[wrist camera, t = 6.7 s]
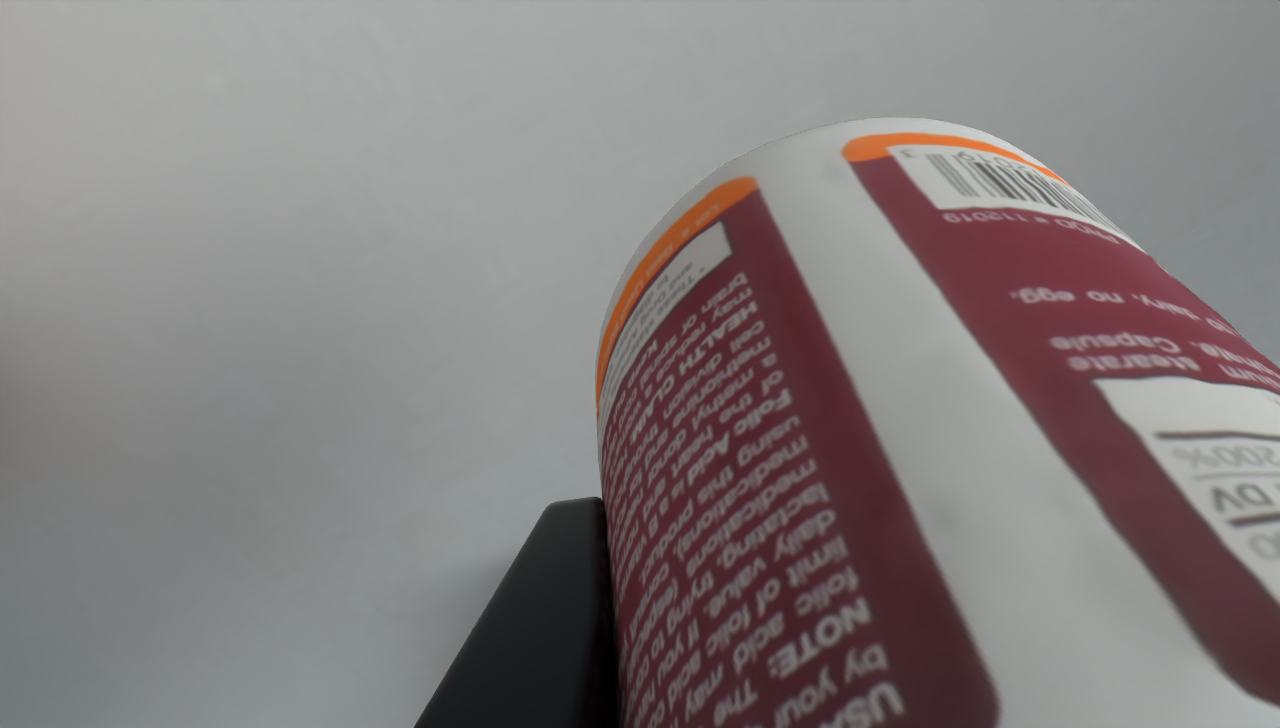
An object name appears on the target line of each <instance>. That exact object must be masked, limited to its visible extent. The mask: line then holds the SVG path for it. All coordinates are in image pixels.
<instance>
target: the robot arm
mask: <svg viewBox="0 0 1280 728" xmlns="http://www.w3.org/2000/svg"><path fill="white" fill-rule="evenodd" d="M414 728H618V725H617V711H616V693H615V664H614V650H613V635H612V611H611V602H610V582H609V569H608V557H607V532H606V520H605V507H604V502H603V501H602V500H601V499H600V498H598V497H587V498H580V499H573V500H566V501H558V502H554V503H551V504H550V505H549V506H548V507H546V509H545V510H544V512H543V514H542V515H541V517H540V519H539V520H538V522H537V524H536V525H535V527H534V529H533V530H532V532H531V534H530V535H529V537H528V539H527V540H526V542H525V544H524V545H523V547H522V549H521V550H520V552H519V553H518V555H517V557H516V558H515V560H514V562H513V563H512V565H511V567H510V568H509V570H508V572H507V573H506V575H505V577H504V578H503V580H502V582H501V583H500V585H499V587H498V588H497V590H496V592H495V593H494V595H493V597H492V598H491V600H490V602H489V603H488V605H487V607H486V608H485V610H484V612H483V613H482V615H481V617H480V618H479V620H478V622H477V623H476V625H475V627H474V628H473V630H472V632H471V633H470V635H469V637H468V638H467V640H466V642H465V643H464V645H463V647H462V648H461V650H460V652H459V653H458V655H457V657H456V658H455V660H454V662H453V663H452V665H451V666H450V668H449V670H448V671H447V673H446V675H445V676H444V678H443V680H442V681H441V683H440V685H439V686H438V688H437V690H436V691H435V693H434V695H433V696H432V698H431V700H430V701H429V703H428V705H427V706H426V708H425V710H424V711H423V713H422V715H421V716H420V718H419V720H418V721H417V723H416V725H415V726H414Z"/></svg>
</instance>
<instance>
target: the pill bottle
mask: <svg viewBox="0 0 1280 728" xmlns="http://www.w3.org/2000/svg"><path fill="white" fill-rule="evenodd" d="M595 390H596V407H597V439H598V461H599V469H600V478H601V486H602V501H603V502H604V507H605V520H606V532H607V557H608V569H609V582H610V602H611V611H612V635H613V650H614V664H615V693H616V711H617V725H618V728H1280V369H1279V368H1278V367H1276V366H1275V365H1274V364H1273V363H1272V362H1271V361H1269V360H1268V359H1267V358H1266V357H1265V356H1264V355H1262V354H1261V353H1260V352H1259V351H1258V350H1256V349H1255V348H1254V347H1253V346H1252V345H1251V344H1249V343H1248V342H1247V341H1246V340H1245V339H1244V338H1242V337H1241V336H1240V334H1239V333H1238V332H1237V331H1236V330H1235V329H1234V328H1233V327H1232V326H1231V325H1230V324H1229V323H1228V322H1227V321H1226V320H1225V319H1224V318H1222V317H1221V316H1220V315H1219V314H1218V313H1217V312H1216V311H1214V310H1213V309H1212V308H1211V307H1209V306H1208V305H1207V304H1205V303H1204V302H1203V301H1202V300H1200V299H1199V298H1198V297H1197V296H1196V295H1195V294H1193V293H1192V292H1191V291H1190V290H1189V289H1188V288H1186V287H1185V286H1184V285H1183V284H1181V283H1180V282H1179V281H1177V280H1176V279H1175V278H1174V277H1172V276H1171V275H1170V274H1169V273H1168V272H1167V271H1166V270H1165V269H1163V268H1162V267H1161V266H1160V265H1159V264H1158V263H1157V262H1156V261H1155V260H1154V259H1153V258H1152V257H1151V256H1149V255H1148V254H1147V253H1146V252H1145V251H1144V250H1143V249H1142V248H1141V247H1139V246H1138V245H1137V244H1136V243H1135V242H1134V241H1133V240H1132V239H1131V238H1130V237H1129V236H1128V235H1127V234H1125V233H1124V232H1123V231H1122V230H1121V229H1119V228H1118V227H1117V226H1116V225H1115V224H1113V223H1112V222H1111V221H1110V220H1109V219H1108V218H1107V217H1106V216H1105V215H1103V214H1102V213H1101V212H1100V211H1099V210H1098V209H1097V208H1096V207H1095V206H1093V205H1092V204H1091V203H1090V202H1089V201H1088V200H1087V199H1086V198H1085V197H1083V196H1082V195H1081V194H1080V193H1079V192H1077V191H1076V190H1075V189H1073V188H1072V187H1071V186H1070V185H1069V184H1068V183H1067V182H1066V181H1065V180H1063V179H1062V178H1061V177H1059V176H1058V175H1057V174H1055V173H1054V172H1053V171H1051V170H1050V169H1049V168H1047V167H1046V166H1045V165H1043V164H1042V163H1041V162H1039V161H1038V160H1036V159H1035V158H1033V157H1031V156H1030V155H1028V154H1026V153H1024V152H1023V151H1021V150H1019V149H1018V148H1016V147H1014V146H1013V145H1011V144H1009V143H1008V142H1006V141H1004V140H1001V139H999V138H997V137H994V136H992V135H990V134H988V133H985V132H983V131H980V130H977V129H973V128H970V127H966V126H962V125H958V124H954V123H949V122H945V121H939V120H933V119H927V118H895V117H877V118H869V119H862V120H853V121H845V122H840V123H835V124H830V125H825V126H820V127H817V128H813V129H809V130H806V131H803V132H800V133H797V134H794V135H791V136H788V137H785V138H782V139H779V140H776V141H773V142H770V143H768V144H765V145H763V146H760V147H758V148H756V149H754V150H752V151H750V152H748V153H747V154H744V155H742V156H740V157H738V158H736V159H734V160H732V161H729V162H727V163H725V164H724V165H722V166H721V167H720V168H719V169H717V170H716V171H715V172H713V173H712V174H711V175H709V176H708V177H707V178H705V179H704V180H703V181H701V182H700V183H699V184H698V185H696V186H695V187H694V188H693V189H692V190H691V191H689V192H688V193H687V194H686V195H685V196H684V197H682V198H681V199H680V200H679V201H678V202H677V203H676V204H675V205H674V207H673V208H672V209H671V210H670V211H669V212H668V213H667V214H666V215H665V216H664V217H663V219H662V220H661V221H660V222H659V223H658V224H657V225H656V226H655V227H654V228H653V230H652V231H651V232H650V233H649V234H648V235H647V236H646V238H645V239H644V240H643V242H642V243H641V245H640V246H639V248H638V249H637V251H636V252H635V254H634V255H633V257H632V258H631V260H630V261H629V263H628V265H627V267H626V269H625V271H624V273H623V275H622V277H621V279H620V281H619V283H618V285H617V287H616V289H615V291H614V293H613V295H612V298H611V301H610V303H609V306H608V308H607V311H606V315H605V318H604V321H603V324H602V327H601V332H600V338H599V344H598V351H597V358H596V372H595Z"/></svg>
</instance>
